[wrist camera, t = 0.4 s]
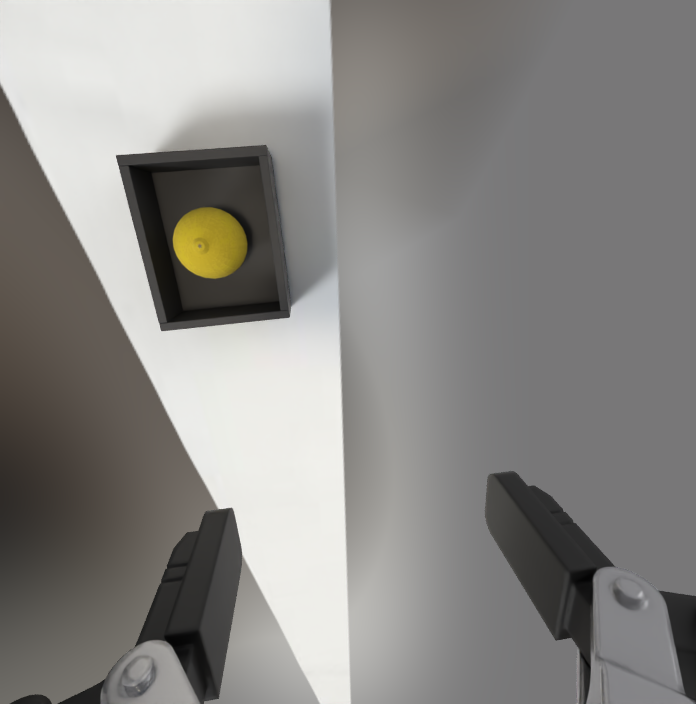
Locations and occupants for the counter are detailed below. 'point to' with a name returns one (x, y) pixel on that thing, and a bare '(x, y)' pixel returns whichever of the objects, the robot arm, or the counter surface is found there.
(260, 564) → the counter surface
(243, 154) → the tote
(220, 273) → the lemon
